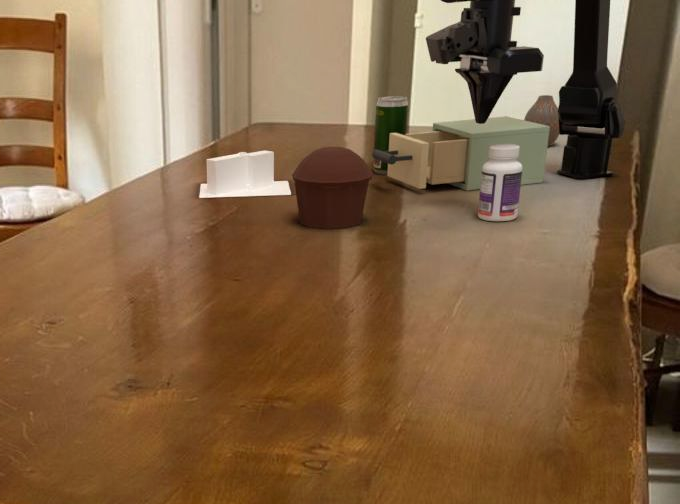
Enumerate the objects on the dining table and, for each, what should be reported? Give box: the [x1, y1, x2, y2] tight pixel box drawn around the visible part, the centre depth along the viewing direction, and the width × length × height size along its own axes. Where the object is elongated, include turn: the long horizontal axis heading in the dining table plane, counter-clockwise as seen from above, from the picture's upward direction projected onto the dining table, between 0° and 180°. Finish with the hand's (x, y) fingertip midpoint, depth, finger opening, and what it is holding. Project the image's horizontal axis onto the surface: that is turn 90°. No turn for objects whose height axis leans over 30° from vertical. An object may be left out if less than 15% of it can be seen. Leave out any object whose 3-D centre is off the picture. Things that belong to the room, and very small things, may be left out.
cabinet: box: [432, 115, 550, 191], centre depth 164 cm, size 14×13×9 cm
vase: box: [523, 94, 560, 148], centre depth 189 cm, size 7×7×9 cm
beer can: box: [372, 95, 409, 176], centre depth 172 cm, size 5×5×12 cm
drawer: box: [371, 130, 469, 190], centre depth 162 cm, size 17×11×7 cm
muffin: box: [291, 146, 374, 230], centre depth 143 cm, size 12×11×10 cm
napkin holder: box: [198, 150, 292, 199], centre depth 166 cm, size 15×11×6 cm
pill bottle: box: [477, 144, 522, 222], centre depth 141 cm, size 5×5×10 cm
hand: (480, 123), depth 141 cm, fingers closed
